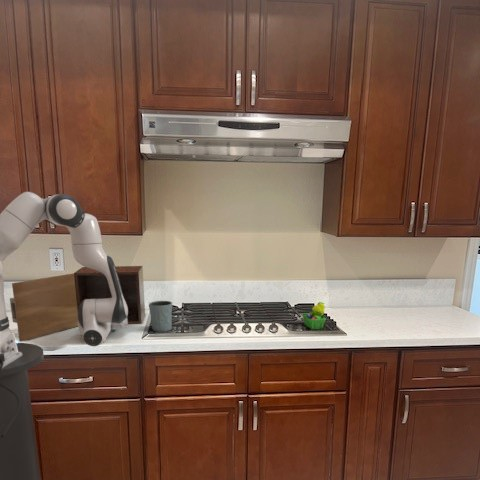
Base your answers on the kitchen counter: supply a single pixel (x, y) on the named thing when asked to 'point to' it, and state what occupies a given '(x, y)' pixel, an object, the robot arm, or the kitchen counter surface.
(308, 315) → the fruit basket
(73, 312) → the cupboard door
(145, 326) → the kitchen counter surface
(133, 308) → the cupboard
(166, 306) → the grey mug
